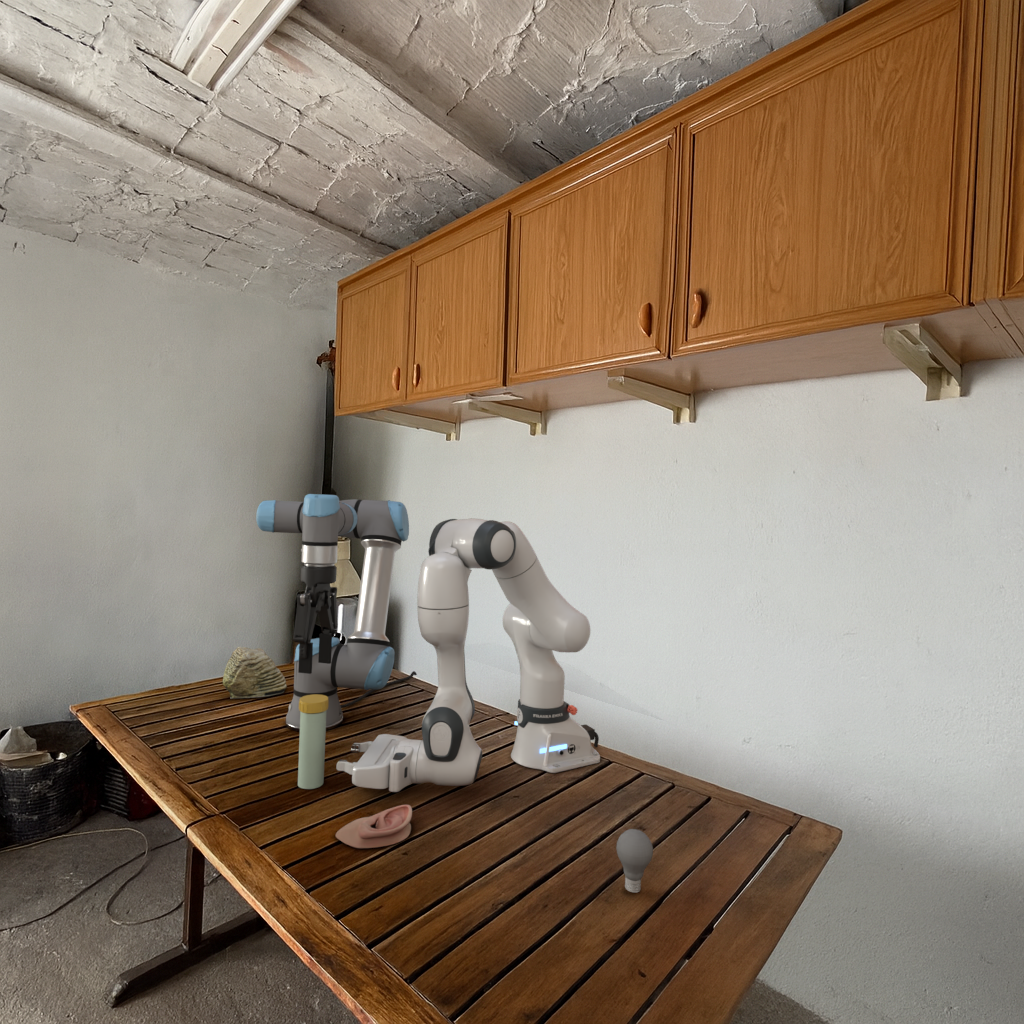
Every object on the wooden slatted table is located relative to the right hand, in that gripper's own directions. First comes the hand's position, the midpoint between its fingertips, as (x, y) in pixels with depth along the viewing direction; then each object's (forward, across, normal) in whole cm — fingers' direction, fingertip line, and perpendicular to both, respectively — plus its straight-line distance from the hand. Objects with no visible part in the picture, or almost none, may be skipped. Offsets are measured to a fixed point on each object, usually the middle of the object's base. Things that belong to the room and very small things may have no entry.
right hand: (345, 755), depth 139 cm
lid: (+8, 0, -12) cm, 14 cm away
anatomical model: (-12, +18, +7) cm, 23 cm away
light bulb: (-59, +29, +7) cm, 66 cm away
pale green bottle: (+8, 0, +7) cm, 10 cm away
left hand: (+8, 0, -19) cm, 20 cm away
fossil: (+48, -56, +7) cm, 74 cm away
